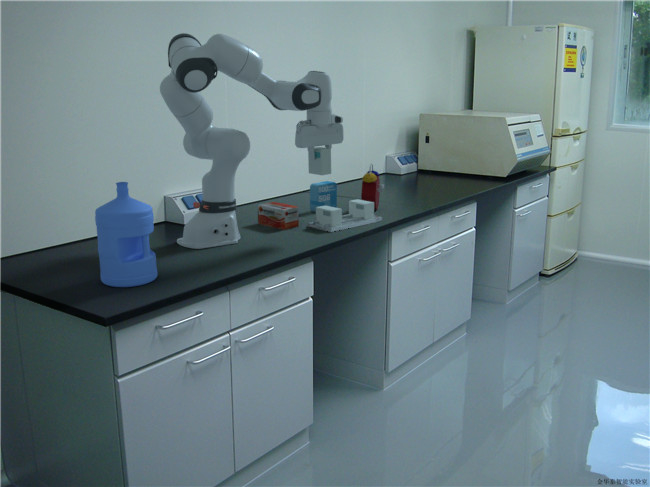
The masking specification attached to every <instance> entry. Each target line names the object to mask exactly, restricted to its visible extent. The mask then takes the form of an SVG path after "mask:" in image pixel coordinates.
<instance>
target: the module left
mask: <svg viewBox="0 0 650 487" xmlns="http://www.w3.org/2000/svg"><path fill="white" fill-rule="evenodd" d="M342 215H343V209H342V208H339V207H336V208H335V207H330V206H326V205H325V206H320V207H316V212H315V221H316V222H317V221H319V223H320V224H324V225H326V224H330V226H332V227H333V226H337V225H342Z"/></svg>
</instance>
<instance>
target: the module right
mask: <svg viewBox="0 0 650 487" xmlns="http://www.w3.org/2000/svg"><path fill="white" fill-rule="evenodd" d="M348 214H349V215H350V214H351V215H352V216H353V217H357V218H358V217H363V219H369V218H373V217H374V214H375V210H374V202H369V201H364V200H361V199H358V198H357V199H352V200H349V201H348Z"/></svg>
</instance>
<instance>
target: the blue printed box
mask: <svg viewBox="0 0 650 487" xmlns="http://www.w3.org/2000/svg"><path fill="white" fill-rule="evenodd" d="M337 193H338V185H337V182H336V181H329V180H325V181H320V182H313V183H311V184H310V186H309V210H310V211H311V212H313V213H316V207H320V206H325V205H326V206H330V207H335V208H338V202H337V201H338V194H337Z"/></svg>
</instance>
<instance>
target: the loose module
mask: <svg viewBox="0 0 650 487" xmlns="http://www.w3.org/2000/svg"><path fill="white" fill-rule="evenodd" d="M313 151H314V154H316V155H317V159H315V160H311V159H310V154H309V152H308V151H307V152H308V154H307V157H308V158H307V159H308V174H312V175H316V176H317V175H318V176H326V175H332V148H326V147H323V146H316V147H314V150H313Z"/></svg>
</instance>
